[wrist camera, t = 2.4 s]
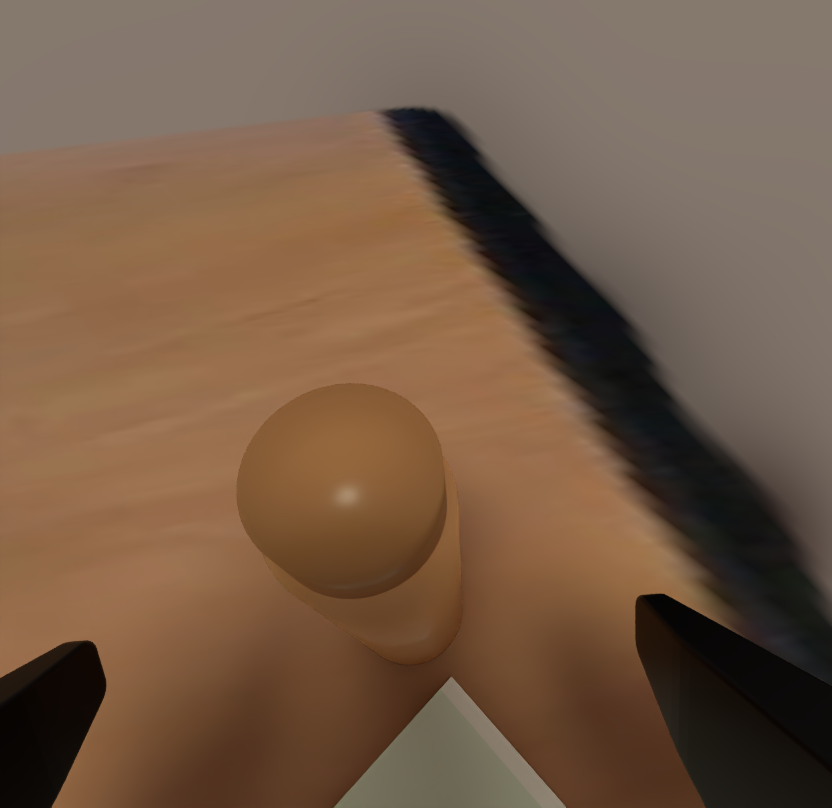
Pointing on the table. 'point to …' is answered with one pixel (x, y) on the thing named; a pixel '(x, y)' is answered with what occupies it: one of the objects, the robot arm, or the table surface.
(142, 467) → the table surface
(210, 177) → the table surface
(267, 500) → the tan cylindrical piece
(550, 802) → the sheet
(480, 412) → the table surface
